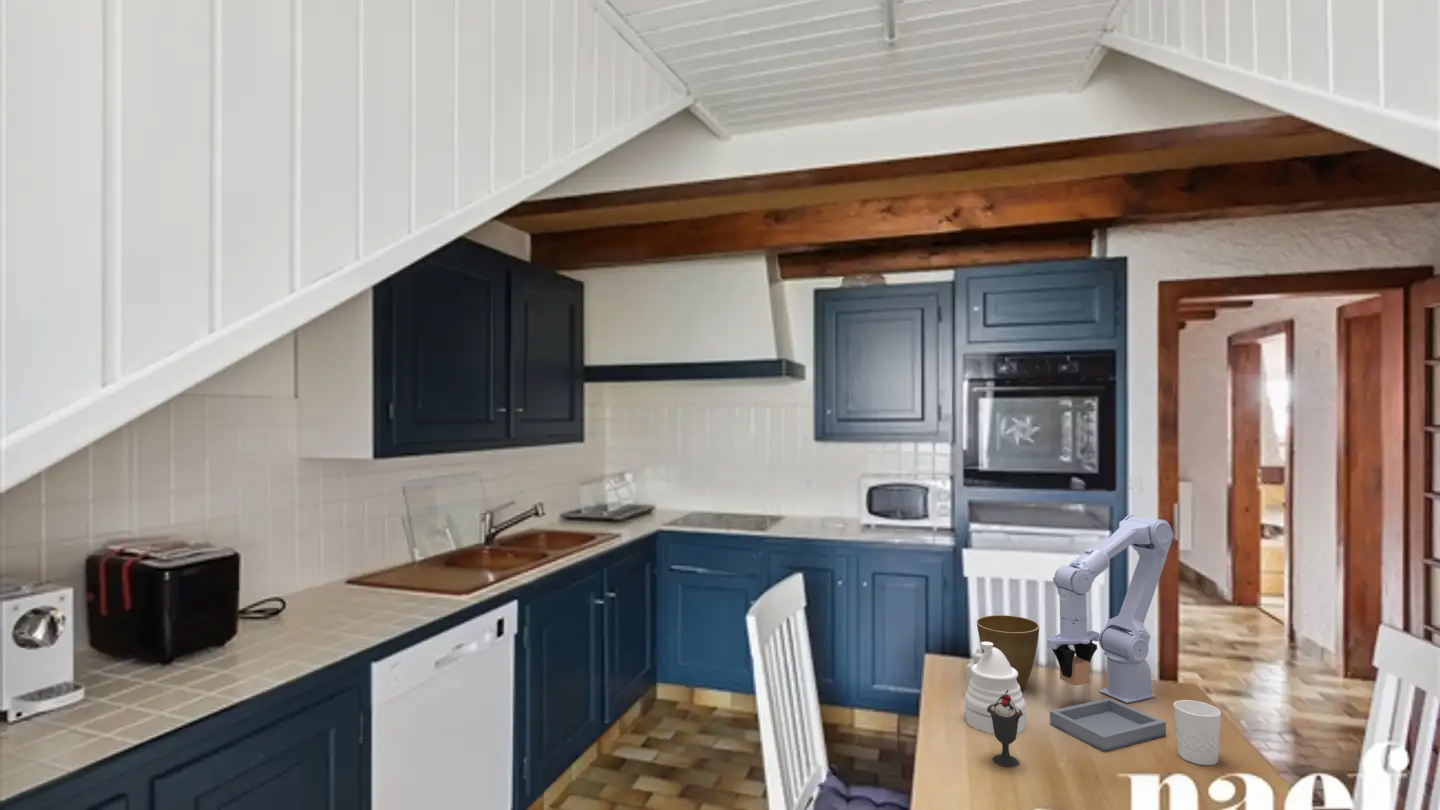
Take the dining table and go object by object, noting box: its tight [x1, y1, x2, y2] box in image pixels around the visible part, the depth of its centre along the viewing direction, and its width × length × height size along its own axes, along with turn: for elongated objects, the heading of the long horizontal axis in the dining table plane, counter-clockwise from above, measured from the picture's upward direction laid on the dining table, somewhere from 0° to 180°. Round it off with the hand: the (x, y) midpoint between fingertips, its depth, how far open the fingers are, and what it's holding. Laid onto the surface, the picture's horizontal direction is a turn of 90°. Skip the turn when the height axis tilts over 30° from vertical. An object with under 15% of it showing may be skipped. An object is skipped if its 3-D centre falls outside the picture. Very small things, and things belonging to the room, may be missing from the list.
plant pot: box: [976, 614, 1040, 691], centre depth 182 cm, size 15×15×16 cm
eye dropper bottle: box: [966, 647, 983, 692], centre depth 175 cm, size 4×6×12 cm
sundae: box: [987, 690, 1023, 768], centre depth 144 cm, size 7×7×15 cm
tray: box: [1049, 697, 1167, 753], centre depth 156 cm, size 18×14×3 cm
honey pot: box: [964, 642, 1027, 734], centre depth 162 cm, size 13×13×18 cm
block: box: [1059, 655, 1091, 686], centre depth 170 cm, size 4×4×5 cm
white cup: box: [1173, 699, 1222, 766], centre depth 144 cm, size 8×8×10 cm
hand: (1074, 674), depth 170 cm, fingers closed on block, 4 cm apart
